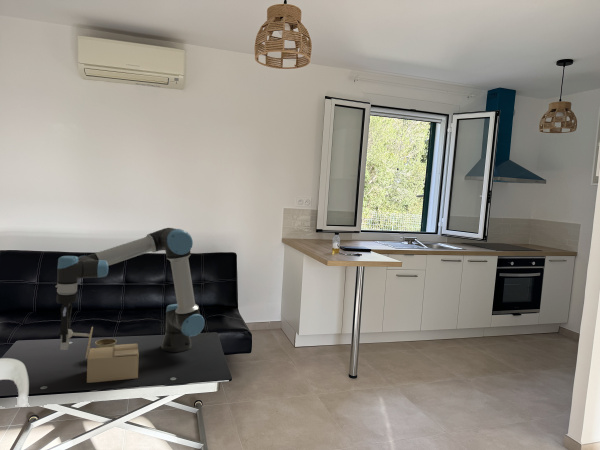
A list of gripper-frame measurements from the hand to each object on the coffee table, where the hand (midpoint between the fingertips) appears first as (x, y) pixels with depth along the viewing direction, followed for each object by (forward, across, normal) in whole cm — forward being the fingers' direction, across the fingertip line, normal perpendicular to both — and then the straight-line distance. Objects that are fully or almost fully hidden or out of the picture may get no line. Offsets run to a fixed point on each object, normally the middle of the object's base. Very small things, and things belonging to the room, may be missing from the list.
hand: (64, 347), depth 185 cm
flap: (-2, 0, +10) cm, 10 cm away
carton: (+13, 0, +19) cm, 23 cm away
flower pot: (+13, -20, +15) cm, 29 cm away
